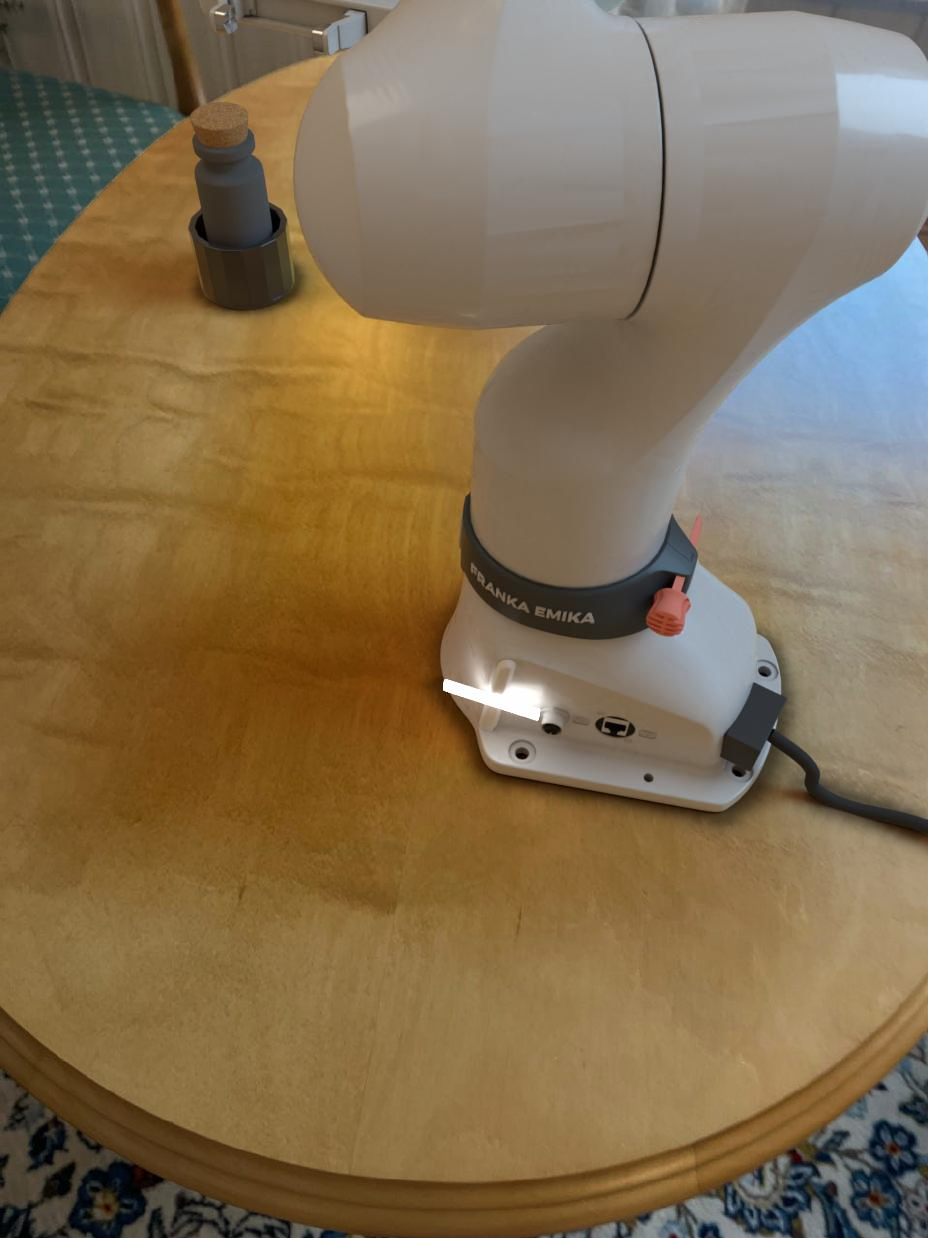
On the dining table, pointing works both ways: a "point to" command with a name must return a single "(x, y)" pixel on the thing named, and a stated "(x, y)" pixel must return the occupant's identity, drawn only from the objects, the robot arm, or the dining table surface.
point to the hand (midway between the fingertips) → (268, 33)
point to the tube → (245, 266)
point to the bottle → (229, 177)
